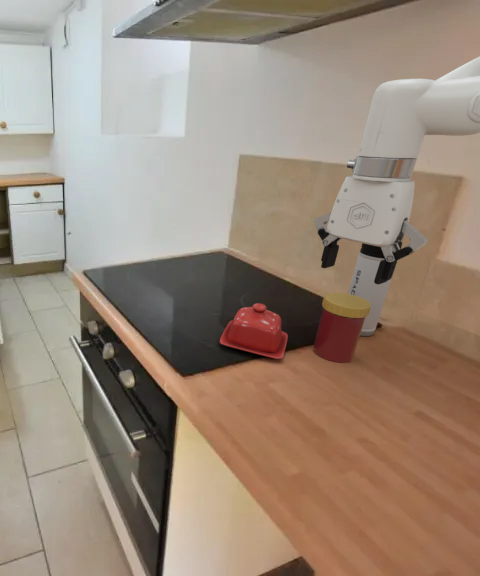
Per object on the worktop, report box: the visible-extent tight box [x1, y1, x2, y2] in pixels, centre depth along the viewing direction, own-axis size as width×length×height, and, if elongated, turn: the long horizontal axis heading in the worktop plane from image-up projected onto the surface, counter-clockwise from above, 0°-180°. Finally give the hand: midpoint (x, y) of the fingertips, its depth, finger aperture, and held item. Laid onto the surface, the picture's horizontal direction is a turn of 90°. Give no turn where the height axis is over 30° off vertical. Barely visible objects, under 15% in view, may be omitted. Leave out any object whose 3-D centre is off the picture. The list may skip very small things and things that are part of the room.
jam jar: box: [312, 307, 365, 364], centre depth 70 cm, size 7×7×11 cm
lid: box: [321, 292, 371, 318], centre depth 68 cm, size 7×7×2 cm
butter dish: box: [219, 302, 289, 360], centre depth 73 cm, size 12×12×8 cm
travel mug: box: [347, 241, 403, 337], centre depth 77 cm, size 6×7×20 cm
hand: (352, 274), depth 66 cm, fingers open, 8 cm apart
